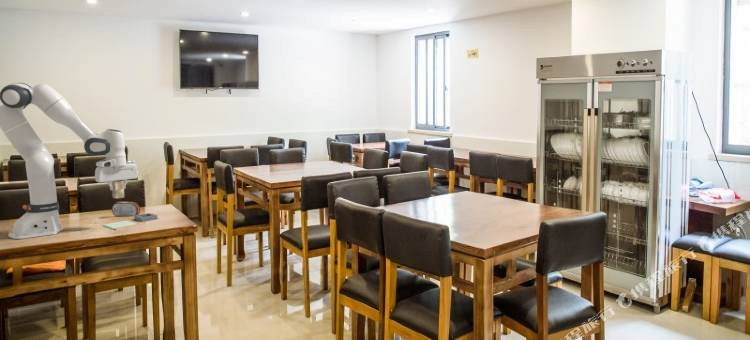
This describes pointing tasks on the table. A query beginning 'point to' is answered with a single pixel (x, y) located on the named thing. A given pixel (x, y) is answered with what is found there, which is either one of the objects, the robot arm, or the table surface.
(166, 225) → the table surface
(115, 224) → the green board
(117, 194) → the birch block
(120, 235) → the table surface
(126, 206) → the tin
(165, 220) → the table surface
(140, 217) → the pocket holder
